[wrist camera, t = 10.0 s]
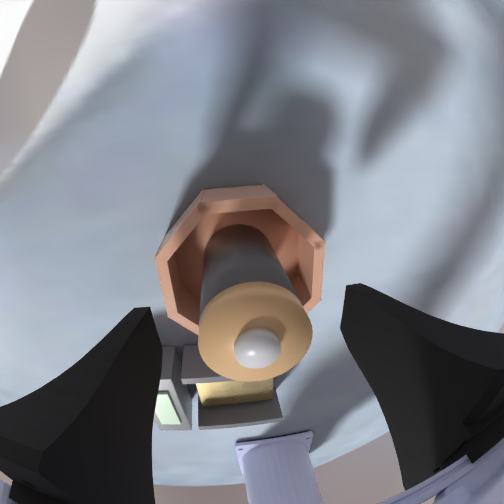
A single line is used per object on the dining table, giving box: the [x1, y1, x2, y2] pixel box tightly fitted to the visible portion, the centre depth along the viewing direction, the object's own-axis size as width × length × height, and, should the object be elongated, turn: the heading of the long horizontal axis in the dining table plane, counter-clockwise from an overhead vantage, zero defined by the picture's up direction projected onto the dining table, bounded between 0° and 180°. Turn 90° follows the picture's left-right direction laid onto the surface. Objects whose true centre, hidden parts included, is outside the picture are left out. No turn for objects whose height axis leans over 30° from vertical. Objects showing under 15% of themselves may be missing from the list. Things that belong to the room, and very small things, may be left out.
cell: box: [198, 224, 312, 382], centre depth 11 cm, size 4×4×7 cm
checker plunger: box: [196, 378, 273, 406], centre depth 18 cm, size 4×5×1 cm
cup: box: [154, 184, 325, 335], centre depth 14 cm, size 8×8×3 cm
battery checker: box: [154, 344, 285, 430], centre depth 17 cm, size 6×9×3 cm, turn 93°
